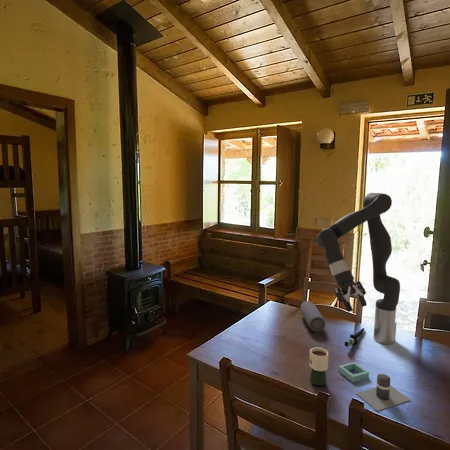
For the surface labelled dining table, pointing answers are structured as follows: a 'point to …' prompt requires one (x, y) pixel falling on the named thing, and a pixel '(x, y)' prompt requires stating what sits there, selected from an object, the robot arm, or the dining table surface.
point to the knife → (353, 338)
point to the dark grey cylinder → (383, 386)
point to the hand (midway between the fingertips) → (357, 308)
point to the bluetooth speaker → (312, 316)
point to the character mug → (318, 365)
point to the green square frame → (353, 378)
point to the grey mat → (378, 403)
